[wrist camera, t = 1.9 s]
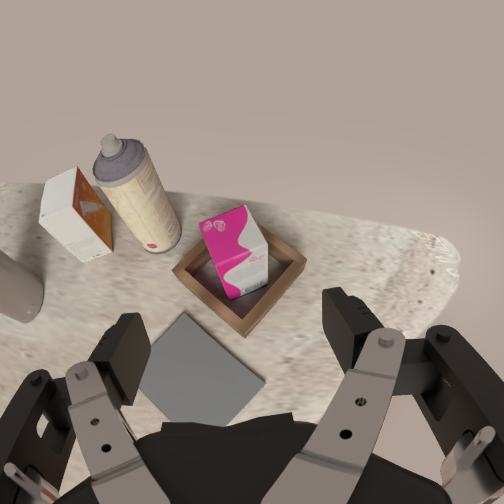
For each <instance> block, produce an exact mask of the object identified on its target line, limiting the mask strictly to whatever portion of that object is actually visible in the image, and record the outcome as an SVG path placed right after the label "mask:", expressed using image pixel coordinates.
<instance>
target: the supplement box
mask: <svg viewBox="0 0 504 504" xmlns="http://www.w3.org/2000/svg"><path fill="white" fill-rule="evenodd" d="M199 227H200V230H201V232H202V235H203V238H204V240H205V243H206V245H207V248H208V251H209V253H210V256H211V258H212V261H213V263H214V266H215V268H216V271H217V273H218V276H219V278H220V280H221V283H222V285H223V287H224V290H225V292H226V294H227V296H228V299H229V300H230V301H232V300H235V299H237V298H239V297H242V296H244V295H247V294H249V293H251V292H253V291H256V290H258V289H260V288H262V287H265V286H267V285H268V243H267V241H266V239H265V238H264V236H263V234H262V232H261V231H260V229H259V227H258V225H257V224H256V222H255V220H254V218H253V217H252V215H251V213H250V211H249V210H248V208H247V206H246V205H243V206H241V207H238V208H236V209H233V210H231V211H228V212H226V213H223V214H221V215H218V216H216V217H213V218H211V219H208V220H206V221H203V222H201V223H199Z"/></svg>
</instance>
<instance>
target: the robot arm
mask: <svg viewBox="0 0 504 504" xmlns="http://www.w3.org/2000/svg"><path fill="white" fill-rule="evenodd" d="M42 301H43V285H42V282H41V280H40V279H39V277H38V276H36V275H35V274H33V273H32V272H30V271H29V270H27V269H26V268H24V267H23V266H22V265H20V264H19V263H17V262H16V261H15V260H13V259H12V258H10V257H9V256H8V255H6V254H5V253H4V252H2V251H1V250H0V313H2V314H4V315H6V316H8V317H10V318H13V319H15V320H17V321H20V322H22V323H27V322H30V321H31V320H33V319H34V318H35V317H36V315H37V314H38V312H39V310H40V308H41V305H42ZM322 323H323V329H324V333H325V335H326V337H327V339H328V341H329V343H330V345H331V347H332V349H333V351H334V353H335V355H336V357H337V360H338V362H339V364H340V366H341V368H342V370H343V372H344V374H345V376H344V378H343V380H342V382H341V384H340V386H339V388H338V390H337V392H336V394H335V396H334V397H333V399H332V401H331V403H330V405H329V407H328V408H327V410H326V412H325V414H324V415H323V417H322V419H321V420H320V422H319V424H318V425H317V424H314V423H309V422H302V421H294V420H293V416H292V412H290V413H284V414H277V415H270V416H263V417H257V418H254V419H251V420H248V421H245V422H241V423H238V424H234V425H231V426H227V427H221V426H214V425H207V424H201V423H195V422H162V427H161V431H159V432H155V433H152V434H149V435H146V436H144V437H142V438H140V439H137V438H136V436H135V434H134V433H133V431H132V429H131V428H130V426H129V424H128V422H127V421H126V419H125V417H124V415H123V413H122V412H121V410H120V408H121V406H122V405H127V406H132V405H133V402H134V399H135V396H136V393H137V391H138V388H139V385H140V382H141V379H142V376H143V373H144V371H145V368H146V365H147V362H148V360H149V357H150V354H151V345H150V341H149V338H148V335H147V332H146V329H145V326H144V323H143V320H142V318H141V315H140V314H139V313H138V312H136V313H124V314H122V315H121V316H120V318H119V319H118V321H117V323H116V324H115V325H113V326H112V327H110V328H109V329H108V330H107V331H106V332H105V333H104V335H103V336H102V339H101V340H100V341H99V343H98V345H97V346H96V348H95V349H94V351H93V352H92V354H91V356H90V357H89V359H88V361H84V362H79V363H77V364H75V365H73V366H72V367H70V368H69V369H68V371H67V372H66V375H65V377H63V378H57V379H52V377H51V376H50V374H49V372H48V371H47V370H43V369H40V370H36V371H34V372H32V373H30V374H29V375H28V376H27V377H26V378H25V379H24V381H23V383H22V384H21V386H20V387H19V389H18V390H17V392H16V393H15V395H14V397H13V398H12V400H11V401H10V403H9V405H8V406H7V408H6V410H5V412H4V413H3V415H2V417H1V418H0V504H492V503H493V502H494V501H495V500H497V499H498V498H499V497H500V496H502V495H503V494H504V382H503V381H502V380H501V378H500V377H499V376H498V375H497V374H496V373H495V371H494V370H493V369H492V368H491V367H490V366H489V365H488V364H487V362H486V361H485V360H484V359H483V358H482V357H481V356H480V355H479V354H478V352H476V350H475V349H474V348H473V347H472V346H471V345H470V344H469V343H468V342H467V341H466V340H465V338H464V337H463V336H462V335H461V334H460V333H459V332H458V331H457V330H456V329H454V328H452V327H450V326H446V325H436V326H432V327H431V328H429V329H428V330H427V332H426V336H425V338H423V339H405V336H404V335H403V334H402V333H401V332H400V331H398V330H395V329H392V328H385V327H384V326H383V325H382V323H381V322H380V321H379V320H378V319H377V317H376V316H375V315H374V314H373V313H372V312H371V310H370V309H369V308H367V305H366V304H365V303H364V302H363V301H362V300H361V299H359V298H357V297H355V296H347V295H346V293H345V292H344V291H343V289H342V288H341V287H335V288H329V289H324V290H323V292H322ZM447 382H448V383H447ZM449 385H450V386H449ZM410 394H412V395H413V397H414V398H415V400H416V402H417V404H418V406H419V407H420V409H421V411H422V413H423V415H424V417H425V418H426V420H427V422H428V424H429V425H430V428H431V430H432V432H433V433H434V435H435V437H436V439H437V441H438V443H439V445H440V447H441V449H442V451H443V453H444V455H445V457H446V458H445V459H444V461H443V462H442V465H441V469H440V472H441V477H442V486H441V485H439V484H438V483H436V482H434V481H432V480H430V479H427V478H425V477H423V476H420V475H418V474H416V473H413V472H411V471H409V470H407V469H404V468H402V467H400V466H398V465H396V464H394V463H392V462H390V461H388V460H386V459H384V458H382V457H380V456H377V455H375V454H374V453H372V451H373V449H374V446H375V444H376V441H377V438H378V436H379V433H380V430H381V428H382V425H383V422H384V419H385V416H386V413H387V410H388V407H389V404H390V401H391V398H392V396H396V395H410ZM42 414H43V415H44V416H45V418H46V419H47V420H48V421H49V422H48V424H47V426H46V428H45V431H44V433H43V435H42V438H40V437H39V435H38V433H37V428H36V427H37V423H38V421H39V419H40V417H41V415H42ZM76 437H77V440H78V443H79V446H80V448H81V451H82V454H83V457H84V459H85V462H86V464H87V467H88V469H89V472H90V474H91V476H89V477H88V478H87V479H85V480H84V481H83V482H81V483H80V484H78V485H77V486H76V487H74V488H73V489H71V490H70V491H69V492H67V493H66V494H64V495H63V496H61V497H60V495H59V490H60V486H61V483H62V479H63V476H64V473H65V469H66V466H67V463H68V460H69V457H70V454H71V451H72V448H73V445H74V442H75V439H76Z"/></svg>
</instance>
